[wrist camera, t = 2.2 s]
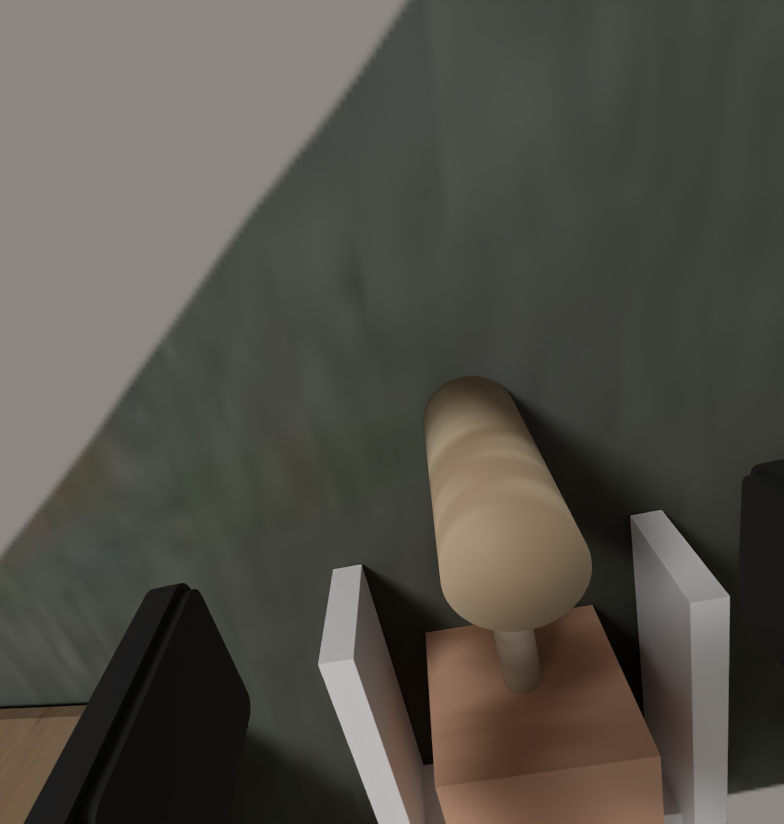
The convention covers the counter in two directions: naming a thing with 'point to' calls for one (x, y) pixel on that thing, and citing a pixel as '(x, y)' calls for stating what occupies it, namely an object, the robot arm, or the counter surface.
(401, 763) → the white u-shaped bracket
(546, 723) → the block
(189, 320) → the counter surface
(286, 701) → the counter surface
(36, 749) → the wooden block
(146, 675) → the robot arm
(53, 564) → the counter surface
